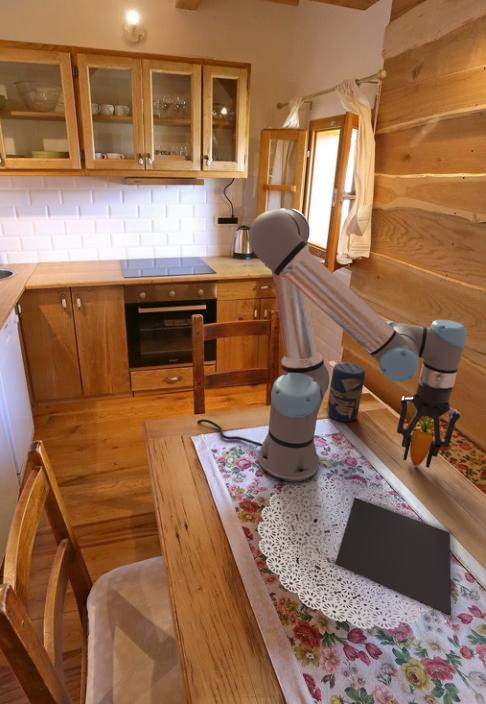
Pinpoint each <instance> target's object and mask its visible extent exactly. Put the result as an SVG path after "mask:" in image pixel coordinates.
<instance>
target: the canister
mask: <svg viewBox="0 0 486 704" xmlns="http://www.w3.org/2000/svg"><path fill="white" fill-rule="evenodd" d="M365 378H366V370H365V369H364V368H363V367H362V366H361V365H359V364H356V363H353V362H349V361H348V362H347V361H344V362H343V361H341V362H337V363H336V364H334V365H333V368H332V375H331V379H330V384H329V391H328V399H327V406H326V411H327V414H328V415H329V416H330V417H331V418H333V419H334V420H338V421H340V422H352V421H354V420H356V419H357V418H358V414H359V409H360V406H361V405H360V404H361V399H362V394H363V390H364V389H363V388H364V383H365Z"/></svg>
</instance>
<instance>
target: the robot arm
mask: <svg viewBox="0 0 486 704" xmlns="http://www.w3.org/2000/svg"><path fill="white" fill-rule="evenodd" d="M248 231H249V232H248V240H249V245H250V247H251V250H252V252H253V254H255V255H256V257H257V258H258V259H259V260H260V261H261V262H262V263H263V264H264V266H265V267H266V268H267V269H269V270H270V271H271V274H272V280H273V287H274V293H275V300H276V307H277V312H278V319H279V325H280V332H281V338H282V344H283V350H284V356H283V357H282V358H281V360H280V367H281V373H282V375H280V376H278V377H277V378H276V379H275V380H274V382H273V385H272V388H271V392H270V394H271V396H270V408H269V422H268V430H267V433H266V436H265V438H264V440H263V442H262V443H261V442H259V441H256V440H252V439H249V438H245V437H243V436H228V435H225V434H224V430H223V427H222V426H220V425H219V424H217V423H216V422H214V421H212V420H209V419H205V418H202V419H198V420H197V421H196V423H198V424H199V423H208V424H210V425H212V426H214V427H215V428H217V429H218V430H219V432H220V436H221V437H222V438H223V439H225V440H240V441H244V442H246V443H249V444H253V445H255V446H259V447H260V449H259V453H258V462H259V465H260V466H261V468H262V469H263V471H264V472H266V473H267V474H268V475H269V476H272V478H275V479H278V480H281V481H285V482H295V483H296V482H297V483H298V482H303V481H306V480H309V479H310V478H312V477H314V475H315V474H316V472H317V470H318V464H319V462H318V461H319V460H318V459H319V458H318V454H317V448H316V445H315V441H314V440H315V434H316V426H317V419H318V415H319V412H320V408H321V406H322V403H323V401H324V398H325V396H326V395H325V394H326V393H327V391H328V388H329V386H330V373H329V369H328V368H327V366H326V364H325V361H324V356H323V354H322V353H321V352H319V351H318V350H317V345H316V337H315V330H314V324H313V323H314V322H313V316H312V307H311V302H312V303H313V304H314V305H316V306H317V307H318V308H319V309H320V310H321V311H322V312H323V313H324V314H325V315H326V316H328V317H329V319H331V321H332V322H334V323H335V324H336V325H337V326H338V327H339V328H340V329H342V330H343V331H344V332H345V333H346V334H347V335H348V336H350V338H352V340H354V341H355V342H356V343H357V344H358V345H359V346H360V347H361V348H363V350H365V351H366V352H367V353H368V354H369V355H370V356H371V357H372V358H373V359H374V360H375V361H376V362H377V363H378V364H379V368H380V371H381V373H382V374H383V376H384V377H385V378H386V379H388V380H390V381H393V382H395V383H396V382H397V383H403V382H408V381H410V380H411V379H413V378H414V377H415V376H416V375H417V373H418V371H419V367H420V359H423V361H422V365H421V368H420V373H419V379H418V381H417V386H416V390H415V393H414V395H413V396H412V397H407V396H405V395H402V396H401V399H400V405H401V411H400V415H399V420H398V424H397V428H396V433H397V434H398V435H402V440H401V447H402V448H404V453H403V457H402V461H407V459H408V455H409V452H410V445H411V439H412V433H413V431H414V428H415V427H417V425H418V424H419V422H418V421H420V420H421V419H422V418H421V417H422V416H425V417H427V418H429V419H432V420H433V424H434V425H433V437H434V440H432V442H431V445H430V448H429V451H428V453H427V456H426V461H425V467H426V468H428V469H430V467H431V463H432V460H433V457H435V458H437V457H438V455H439V451H440V449H441V447H444V448H449V447H450V444H451V440H452V436H453V433H454V429H455V426H456V423H457V422H458V420H459V419H460V418H461V411H460V410H459V409H454V408H453V407H451V404H450V401H451V398H452V393H453V387H454V385H455V382H456V378H457V375H458V374H457V373H458V371H459V370H458V369H459V365H460V363H461V358H462V355H463V352H464V348H465V344H466V340H467V339H466V338H467V333H468V329H467V328H466V326H464V325H463V324H461V323H459V322H457V321H455V320H454V321H453V320H449V319H436V320H434V321H433V322H432V323H431V325H430V327H428V326H420V325H414V324H407V323H401V322H396V321H388V320H385V319H384V318H383V317H381V316H380V315H379V314H378V313H377V311H375V310H374V309H373V308H372V307H371V306H369V305H368V304H367V303H366V302H365V301H364V300H363V299H362V298H360V297H359V295H357V294H356V293H355V292H354V291H353V290H352V289H351V288H350V287H348V286H347V284H345V283H344V282H343V281H342V280H341V279H340V278H339V277H338V276H336V275H335V274H334V273H333V272H332V271H331V270H330V269H329V268H328V267H327V266H325V265H324V263H322V262H321V261H320V260H319V259H318V258H317V257H315V256H314V255H313V254H312V253H311V252H310V245H309V242H308V241H309V238H310V224H309V221H308V219H307V218H306V216H305V215H304V214H303V213H302V212H300V211H299V210H297V209H294V208H291V207H279V208H277V209H273V210H272V209H271V210H268V211H267V210H266V211H265V212H262V213H261V214H259V215H257V217H255V219H254V220H253V222H252V224H251V225H250V228H249V230H248ZM310 301H311V302H310ZM411 404H413V406H414V408H415V412H414V414H413V416H412V417H411V419H410V421H409V422H408V424H407V425H406V427H405V428H404V425H405V422H406V421H405V420H406V417H407V412H408V407H410V406H411ZM446 413H448V422H447V425H446V429H445V432H444V437H443V438H441V424H440V417H442V416H443V415H445V414H446Z"/></svg>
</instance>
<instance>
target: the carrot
mask: <svg viewBox="0 0 486 704" xmlns="http://www.w3.org/2000/svg"><path fill="white" fill-rule="evenodd" d="M420 419H421V421H420V420H419V421H418V424H419V426H415V428H414V429H413V431H412V433H411V435H412V438H411V443H410V447H409V456H410V460H411V463H412V465H413V467H418V466H419V465H421V464H422V463H423V462H424V460H425V459H426V458H427V456H428V453H429V449H430V445H431V442H432V441H433V438H434V432H433V431H431V430H430V429H431V428H432V427H434V423H433V422H432V420H431V418H427V420H426V416H422V417H421V418H420Z"/></svg>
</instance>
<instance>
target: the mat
mask: <svg viewBox="0 0 486 704" xmlns="http://www.w3.org/2000/svg"><path fill="white" fill-rule="evenodd" d="M450 533H451V532H449V531H446V530H444V529H441V528H439V527H437V526H434V525H432V524H428V523H426V522H423V521H420V520H417V519H414V518H413V517H412V518H411V517H409V516H406V515H404V514H401V513H398V512H396V511H393V510H390V509H387V508H385V507H382V506H379V505H377V504H374V503H371V502H369V501H366V500H363V499H361V498H358V497H354V498H353V501H352V505H351V508H350V511H349V515H348V518H347V522H346V525H345V529H344V532H343V535H342V539H341V542H340V546H339V549H338V552H337V557H336V559H335V563H334V564H336V565H337V566H340V567H343V568H345V569H347V570H349V571H351V572H353V573H355V574H357V575H360V576H362V577H365V578H366V579H369V580H371V581H373V582H376V583H378V584H380V585H382V586H385V587H387V588H389V589H392V590H393V591H396V592H398V593H400V594H402V595H405V596H408V598H411V599H414V600H416V601H418V602H420V603H422V604H425V605H427V606H429V607H431V608H433V609H436V610H438V611H441V612H442V613H445V614H447V615H449V616H451V539H450V538H451V535H450Z"/></svg>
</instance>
